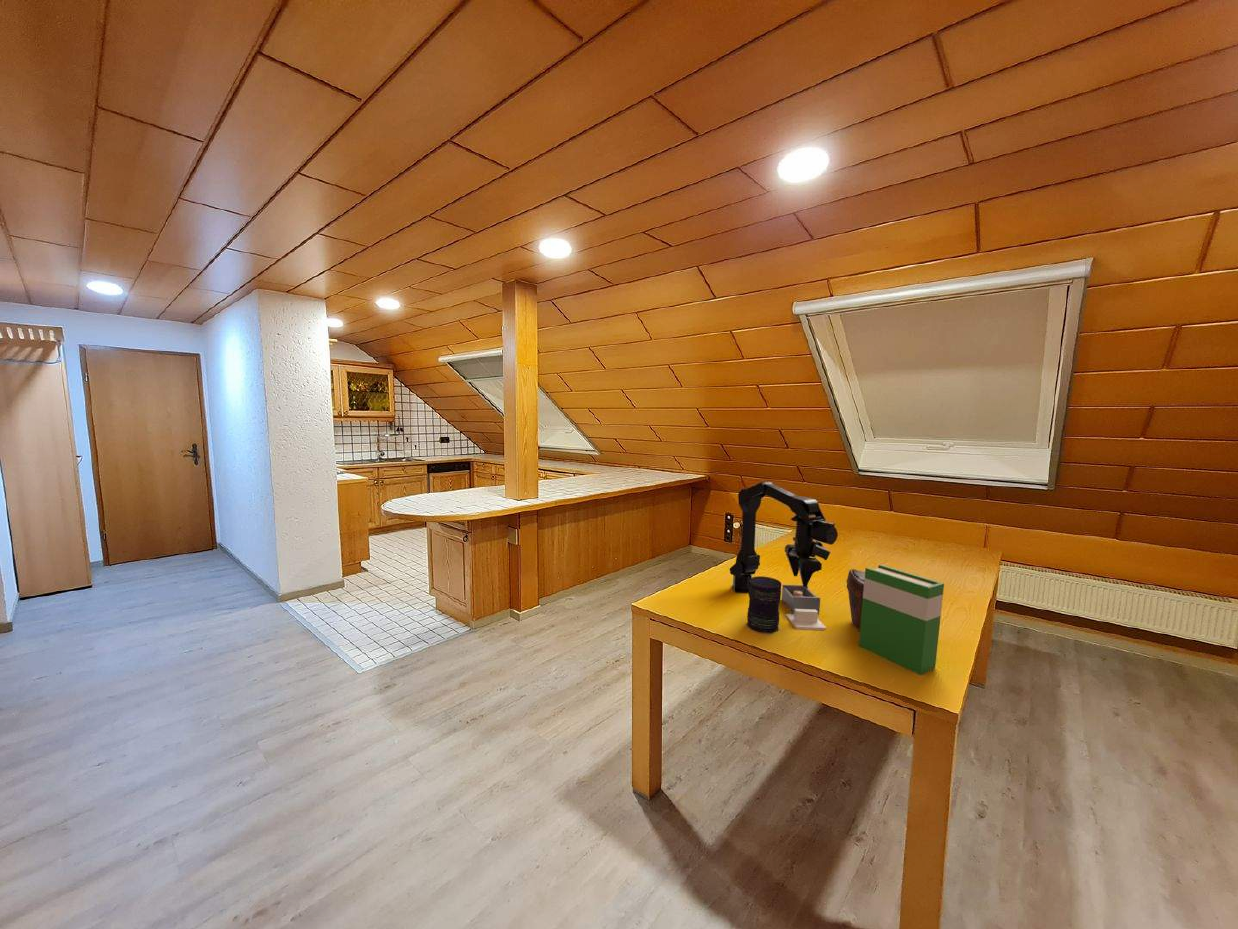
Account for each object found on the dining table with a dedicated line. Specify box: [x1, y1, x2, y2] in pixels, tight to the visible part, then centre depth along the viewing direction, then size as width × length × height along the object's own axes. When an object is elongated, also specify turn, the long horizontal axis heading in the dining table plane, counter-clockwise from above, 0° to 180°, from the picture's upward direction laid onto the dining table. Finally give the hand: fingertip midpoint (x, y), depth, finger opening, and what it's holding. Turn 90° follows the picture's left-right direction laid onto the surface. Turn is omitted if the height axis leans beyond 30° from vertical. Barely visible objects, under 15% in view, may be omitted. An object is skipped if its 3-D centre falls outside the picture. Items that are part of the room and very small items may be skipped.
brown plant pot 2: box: [846, 568, 865, 630], centre depth 156 cm, size 18×20×18 cm
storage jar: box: [746, 575, 782, 634], centre depth 154 cm, size 10×10×15 cm
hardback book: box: [858, 564, 945, 676], centre depth 137 cm, size 18×7×24 cm, turn 30°
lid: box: [785, 609, 827, 631], centre depth 159 cm, size 10×10×5 cm
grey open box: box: [781, 584, 821, 615], centre depth 172 cm, size 9×12×6 cm
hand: (800, 581), depth 164 cm, fingers open, 9 cm apart
